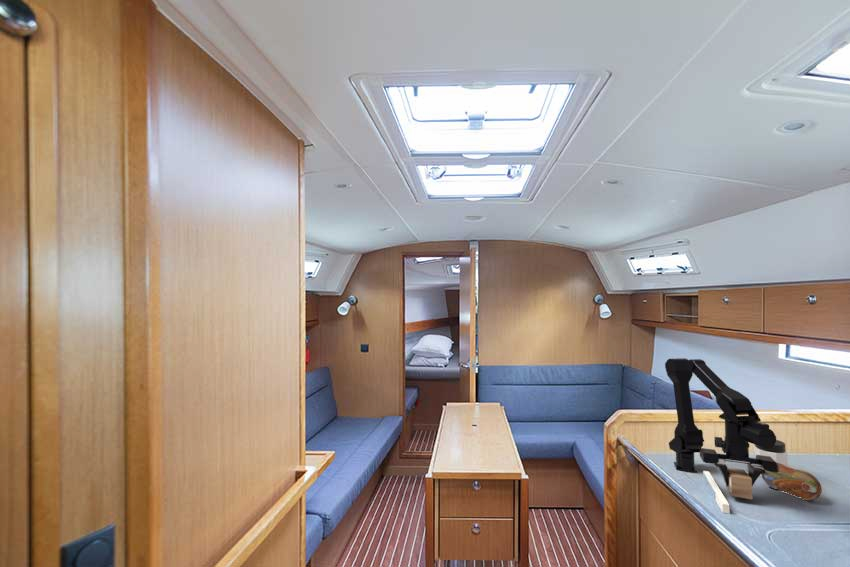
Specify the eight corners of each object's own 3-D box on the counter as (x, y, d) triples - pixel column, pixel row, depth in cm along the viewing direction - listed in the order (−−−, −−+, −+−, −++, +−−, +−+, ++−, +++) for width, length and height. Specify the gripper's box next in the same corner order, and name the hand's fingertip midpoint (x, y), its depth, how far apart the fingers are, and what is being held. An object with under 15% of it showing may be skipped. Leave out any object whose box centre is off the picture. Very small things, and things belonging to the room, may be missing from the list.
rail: (702, 477, 138) (702, 470, 138) (709, 478, 137) (708, 471, 138) (721, 512, 116) (721, 503, 116) (729, 513, 115) (729, 504, 116)
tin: (760, 484, 134) (759, 458, 134) (766, 482, 135) (765, 457, 135) (818, 506, 119) (817, 477, 120) (824, 504, 121) (823, 475, 121)
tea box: (752, 499, 120) (751, 479, 120) (731, 495, 122) (730, 476, 123) (744, 489, 127) (744, 469, 127) (725, 486, 129) (724, 467, 129)
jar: (790, 477, 138) (789, 442, 139) (785, 484, 133) (784, 447, 134) (757, 468, 145) (756, 435, 146) (751, 475, 140) (750, 440, 141)
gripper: (764, 432, 129) (766, 481, 128) (695, 425, 136) (696, 471, 136) (778, 444, 118) (780, 498, 118) (703, 435, 126) (704, 486, 125)
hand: (738, 487), depth 125 cm, fingers closed on tea box, 5 cm apart
